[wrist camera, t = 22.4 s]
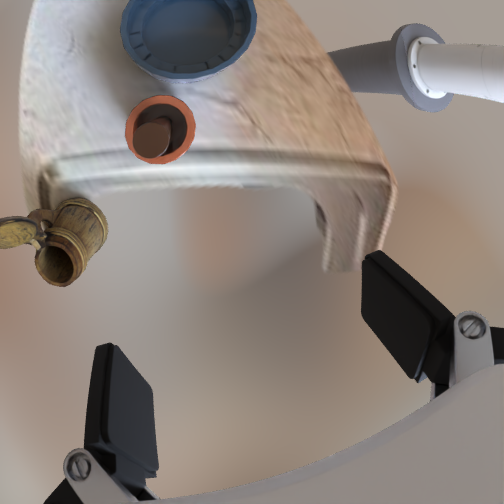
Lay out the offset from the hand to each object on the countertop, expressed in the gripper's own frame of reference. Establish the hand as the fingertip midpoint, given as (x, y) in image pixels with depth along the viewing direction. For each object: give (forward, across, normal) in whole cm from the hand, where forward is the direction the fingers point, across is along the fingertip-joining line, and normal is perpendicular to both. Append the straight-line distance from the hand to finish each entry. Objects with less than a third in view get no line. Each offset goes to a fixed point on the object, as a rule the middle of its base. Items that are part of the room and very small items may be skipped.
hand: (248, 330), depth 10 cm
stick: (+32, +2, -6) cm, 32 cm away
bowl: (+32, -4, -18) cm, 37 cm away
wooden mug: (+32, +19, +1) cm, 38 cm away
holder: (+32, +2, -6) cm, 33 cm away
